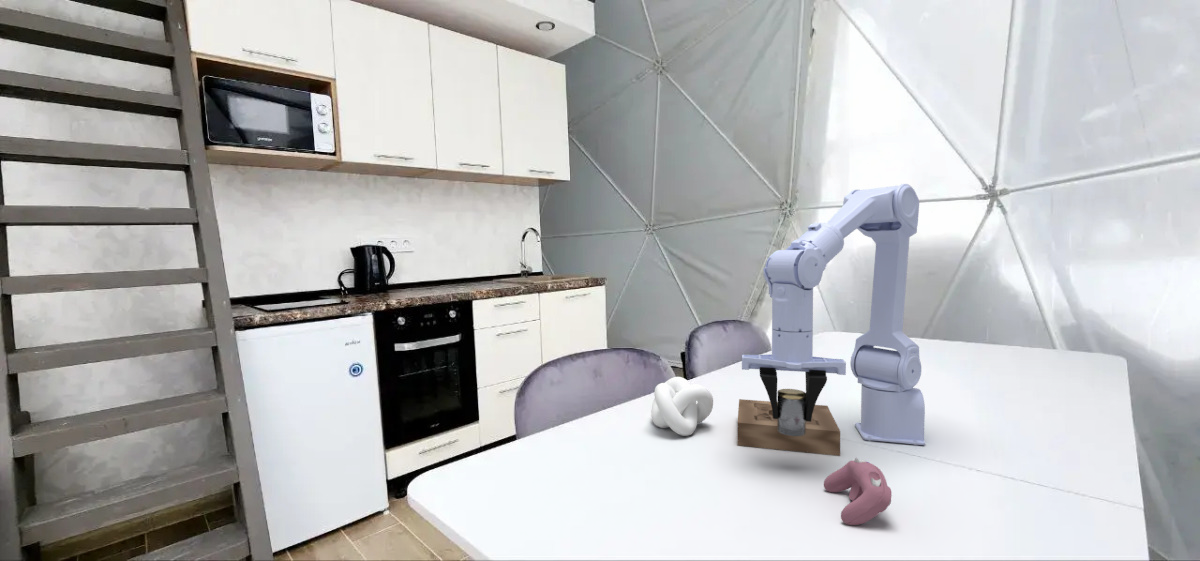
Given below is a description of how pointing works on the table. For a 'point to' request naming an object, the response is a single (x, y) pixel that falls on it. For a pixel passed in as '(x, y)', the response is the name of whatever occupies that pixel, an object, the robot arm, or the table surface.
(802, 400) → the brass capped cylinder
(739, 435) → the jig
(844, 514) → the video game controller
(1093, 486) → the table surface
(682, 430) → the white knot sculpture
